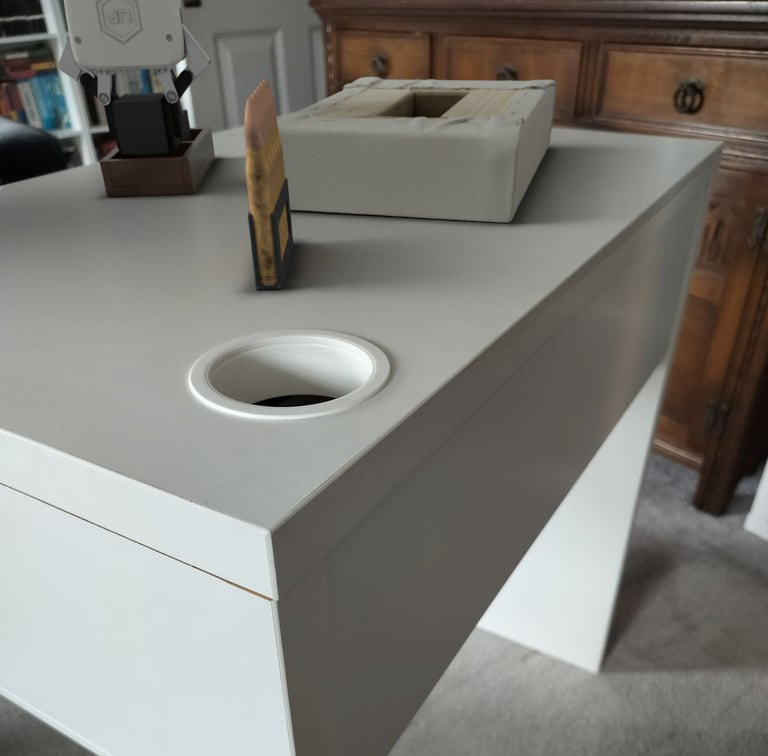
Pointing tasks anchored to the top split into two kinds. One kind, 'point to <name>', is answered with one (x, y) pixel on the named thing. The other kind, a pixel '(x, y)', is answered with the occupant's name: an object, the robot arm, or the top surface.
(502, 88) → the box
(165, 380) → the top surface
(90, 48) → the robot arm
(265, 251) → the ammunition clip
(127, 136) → the black block
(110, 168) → the tray
